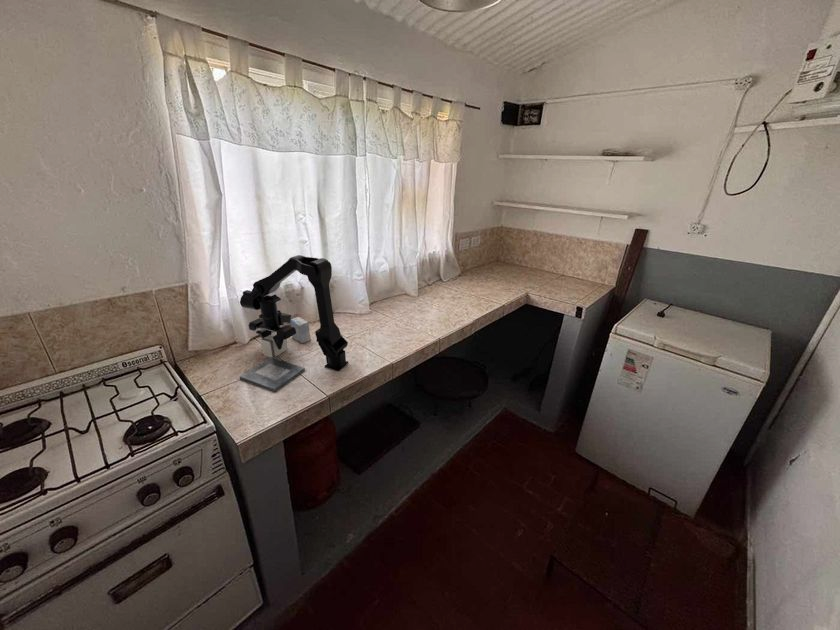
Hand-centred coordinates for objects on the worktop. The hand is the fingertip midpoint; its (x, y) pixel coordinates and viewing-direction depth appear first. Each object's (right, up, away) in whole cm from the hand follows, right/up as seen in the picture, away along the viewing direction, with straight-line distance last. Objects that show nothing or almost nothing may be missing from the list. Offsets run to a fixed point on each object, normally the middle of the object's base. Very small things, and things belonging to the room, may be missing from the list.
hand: (275, 347), depth 128 cm
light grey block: (0, -2, +1) cm, 2 cm away
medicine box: (+6, +2, +11) cm, 13 cm away
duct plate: (+5, -8, -13) cm, 16 cm away
